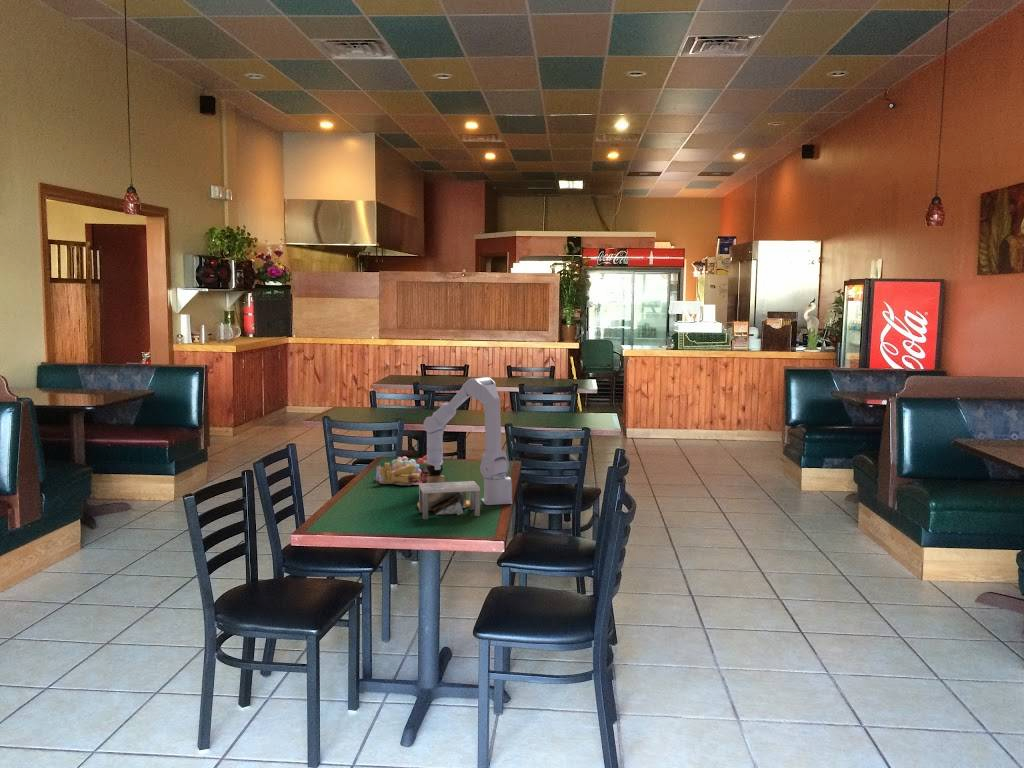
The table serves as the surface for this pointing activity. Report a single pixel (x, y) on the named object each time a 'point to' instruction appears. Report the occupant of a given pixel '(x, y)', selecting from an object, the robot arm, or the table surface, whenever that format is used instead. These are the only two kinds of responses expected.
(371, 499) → the table surface
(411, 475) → the candy landscape model
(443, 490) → the tunnel
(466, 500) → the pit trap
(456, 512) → the chocolate cake
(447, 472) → the table surface
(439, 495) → the sled
